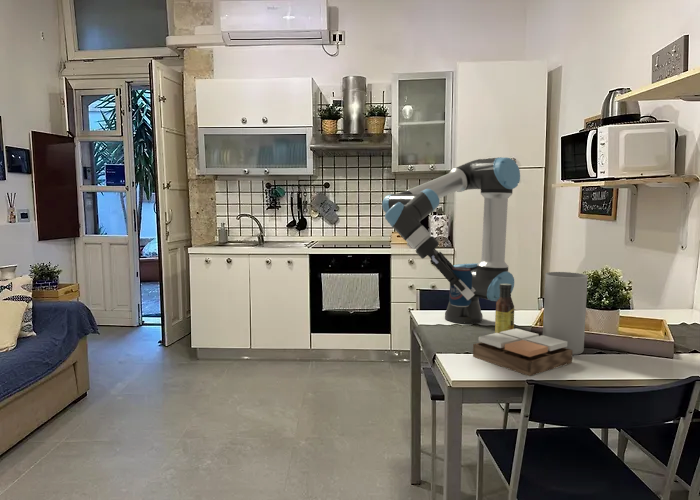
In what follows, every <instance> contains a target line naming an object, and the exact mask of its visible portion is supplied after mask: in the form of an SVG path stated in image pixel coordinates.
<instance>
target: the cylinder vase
mask: <svg viewBox="0 0 700 500" xmlns="http://www.w3.org/2000/svg"><path fill="white" fill-rule="evenodd" d="M544 276H545V277H544V278H545V279H544V281H545V283H544V297H543V298H544V299H543V300H544V302H543V322H542V335H544V336H548V337H552V338H555V339H559V340H563V341H567V347H564V348H567V349H571V350H573V351H572V356H575V355H581V354H582V353H583V352H584V349H585V348H584V347H585V329H586V313H587V295H588V294H587V293H588V277H589V275H587V274H583V273H578V272H570V271H551V272H550V271H549V272H548V271H547V272H546V273H545V275H544Z"/></svg>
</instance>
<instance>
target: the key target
mask: <svg viewBox="0 0 700 500" xmlns="http://www.w3.org/2000/svg"><path fill="white" fill-rule="evenodd" d="M505 350H508V351H512V352H515V353H518V354H521V355H525V356H528V357H531V356H535V355H538V354H542V353H546V352H548V347H546V346H543V345H539V344H536V343H532V342H528V341H525V340H521V341H517V342H513V343H509V344H505Z"/></svg>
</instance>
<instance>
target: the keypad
mask: <svg viewBox="0 0 700 500" xmlns="http://www.w3.org/2000/svg"><path fill="white" fill-rule="evenodd" d="M572 351H573V350H571V349H567V348H560V349H556V350H553V351H548V352H546V353H542V354H538V355H535V356H531V357H528V356H525V355H521V354H518V353H515V352H512V351H508V350H505V347H504V348H498V347H495V346H492V345H489V344H485V343H482V342H478V343H477V342H476V343H473V347H472V357H473V358H476V359H479V360H482V361H485V362H487V363H491V364H492V365H495V366H499V367H502V368H504V367H505V369H507V368H508V370H511V371H514V372H517V373H520V374H521V375H525V376H528V377H531V376H534V375H537V374H541V373H544V372H547V371H550V370H554V369H556V368H561V367H563V366H566V365H569V364H572V363H573V355H572Z"/></svg>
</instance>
